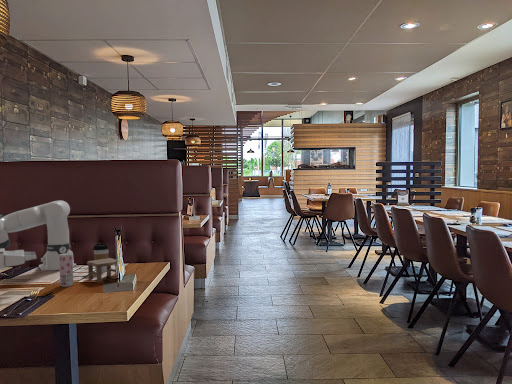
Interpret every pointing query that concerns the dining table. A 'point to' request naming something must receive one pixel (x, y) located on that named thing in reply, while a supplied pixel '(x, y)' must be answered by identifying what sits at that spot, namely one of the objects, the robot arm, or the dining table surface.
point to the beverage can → (66, 269)
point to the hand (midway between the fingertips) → (36, 255)
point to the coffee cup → (101, 253)
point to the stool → (99, 264)
